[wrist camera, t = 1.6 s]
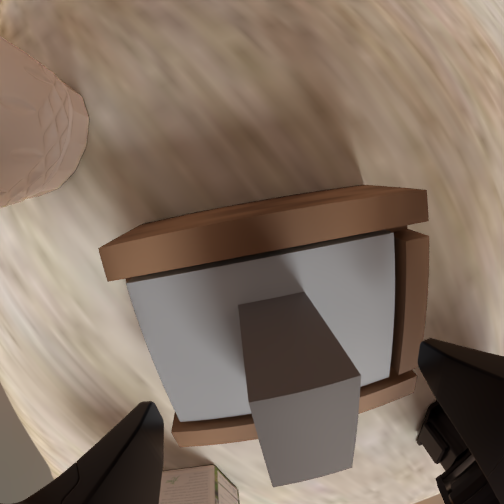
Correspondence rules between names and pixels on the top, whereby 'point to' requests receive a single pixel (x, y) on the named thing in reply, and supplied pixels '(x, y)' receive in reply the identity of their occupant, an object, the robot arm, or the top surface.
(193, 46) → the top surface
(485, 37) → the top surface
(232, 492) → the syrup box
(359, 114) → the top surface
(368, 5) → the top surface
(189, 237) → the walnut box
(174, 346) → the cover plate
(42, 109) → the beige cup
